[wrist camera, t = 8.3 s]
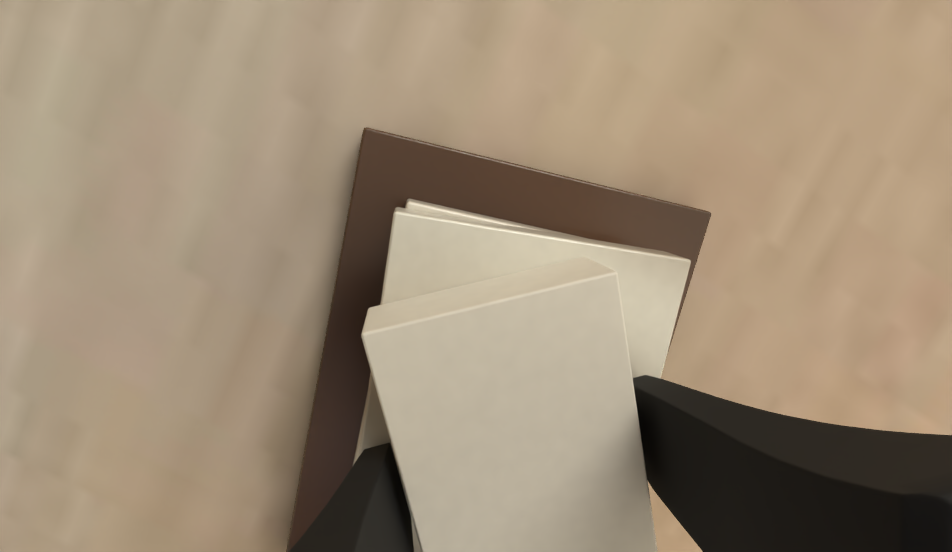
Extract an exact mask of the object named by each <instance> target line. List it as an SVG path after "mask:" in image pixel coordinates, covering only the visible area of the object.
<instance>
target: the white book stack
mask: <svg viewBox="0 0 952 552" xmlns="http://www.w3.org/2000/svg"><path fill="white" fill-rule="evenodd" d="M710 217H711V213H710V212H708V211H704V210H700V209H696V208H692V207H688V206H684V205H680V204H676V203H672V202H668V201H663V200H659V199H655V198H651V197H647V196H643V195H639V194H635V193H631V192H627V191H623V190H619V189H615V188H611V187H607V186H602V185H598V184H594V183H590V182H586V181H582V180H578V179H574V178H570V177H566V176H562V175H558V174H554V173H550V172H546V171H541V170H537V169H533V168H529V167H525V166H521V165H517V164H513V163H509V162H505V161H501V160H497V159H493V158H489V157H485V156H480V155H476V154H472V153H468V152H464V151H460V150H456V149H452V148H448V147H444V146H440V145H436V144H432V143H428V142H424V141H419V140H415V139H411V138H407V137H403V136H399V135H395V134H391V133H387V132H383V131H379V130H375V129H371V128H364V130H363V134H362V140H361V145H360V151H359V156H358V161H357V167H356V172H355V178H354V183H353V189H352V194H351V200H350V205H349V211H348V216H347V222H346V227H345V233H344V238H343V244H342V249H341V255H340V260H339V266H338V271H337V277H336V282H335V287H334V293H333V298H332V304H331V309H330V315H329V320H328V326H327V331H326V337H325V342H324V348H323V353H322V359H321V364H320V370H319V375H318V381H317V386H316V392H315V397H314V402H313V408H312V413H311V419H310V424H309V430H308V435H307V441H306V446H305V452H304V457H303V463H302V468H301V474H300V479H299V485H298V490H297V496H296V501H295V507H294V512H293V517H292V523H291V528H290V534H289V539H288V545H287V550H286V552H289V551H290V550H291V549H292V547H293V546H294V545H295V544H296V543H297V542H298V540H299V539H300V538H301V537H302V536H303V534H304V533H305V532H306V530H307V529H308V528H309V527H310V525H311V524H312V523H313V521H314V520H315V519H316V518H317V516H318V515H319V514H320V512H321V511H322V510H323V509H324V507H325V506H326V505H327V503H328V502H329V500H330V499H331V498H332V496H333V495H334V493H335V492H336V490H337V489H338V487H339V486H340V484H341V483H342V481H343V480H344V478H345V477H346V475H347V474H348V472H349V471H350V469H351V468H352V466H353V465H354V463H355V462H356V460H357V459H358V457H359V456H360V454H361V453H362V452H363V450H364V449H367V448H371V447H374V446H378V445H382V444H386V443H390V444H391V441H390V437H389V434H388V430H387V426H386V423H385V419H384V416H383V412H382V409H381V405H380V402H379V398H378V394H377V391H376V387H375V384H374V380H373V377H372V373H371V369H370V366H369V362H368V359H367V355H366V352H365V348H364V345H363V341H362V337H361V334H362V330H363V326H364V322H365V319H366V315H367V311H368V309H369V308H370V307H374V306H378V305H383V304H387V303H391V302H395V301H399V300H403V299H408V298H412V297H416V296H420V295H424V294H429V293H433V292H437V291H441V290H445V289H450V288H454V287H458V286H462V285H466V284H470V283H475V282H479V281H483V280H487V279H491V278H496V277H500V276H504V275H508V274H512V273H516V272H521V271H525V270H529V269H533V268H537V267H542V266H546V265H550V264H554V263H558V262H563V261H567V260H571V259H575V258H579V257H583V256H584V257H587V258H589V259H591V260H593V261H595V262H597V263H599V264H601V265H604V266H606V267H608V268H610V269H612V270H614V271H616V272H617V274H618V281H619V288H620V294H621V301H622V308H623V315H624V322H625V329H626V336H627V343H628V350H629V357H630V364H631V371H632V378H635V377H639V376H643V375H648V376H653V377H656V378H660V379H661V376H662V372H663V368H664V364H665V360H666V357H667V354H668V351H669V347H670V344H671V341H672V338H673V335H674V331H675V328H676V325H677V322H678V319H679V316H680V312H681V309H682V306H683V303H684V300H685V296H686V293H687V290H688V287H689V284H690V280H691V277H692V274H693V271H694V268H695V264H696V261H697V258H698V255H699V252H700V248H701V245H702V242H703V239H704V236H705V233H706V229H707V226H708V223H709V220H710ZM391 447H392V444H391ZM392 451H393V448H392ZM393 454H394V451H393ZM394 458H395V455H394ZM395 462H396V459H395ZM396 465H397V462H396ZM397 469H398V466H397ZM398 472H399V469H398ZM399 476H400V473H399ZM400 479H401V476H400ZM401 483H402V480H401ZM402 486H403V484H402ZM403 490H404V487H403ZM404 494H405V491H404ZM405 497H406V494H405ZM406 501H407V498H406ZM407 504H408V501H407ZM408 508H409V505H408ZM409 511H410V508H409ZM410 515H411V512H410ZM411 522H412V533H413V546H414V552H422V551H421V548H420V544H419V541H418V537H417V533H416V530H415V526H414V523H413V519H412V516H411Z"/></svg>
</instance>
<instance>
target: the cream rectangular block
mask: <svg viewBox="0 0 952 552" xmlns="http://www.w3.org/2000/svg"><path fill="white" fill-rule="evenodd" d="M361 337H362V341H363V345H364V348H365V352H366V355H367V359H368V362H369V366H370V369H371V373H372V377H373V380H374V384H375V387H376V391H377V394H378V398H379V402H380V405H381V409H382V412H383V416H384V419H385V423H386V426H387V430H388V434H389V437H390V441H391V444H392V448H393V451H394V455H395V459H396V462H397V466H398V469H399V473H400V476H401V480H402V484H403V487H404V491H405V494H406V498H407V501H408V505H409V508H410V512H411V516H412V519H413V523H414V526H415V530H416V533H417V537H418V541H419V544H420V548H421V551H422V552H658V551H657V544H656V537H655V530H654V523H653V516H652V509H651V502H650V495H649V488H648V481H647V475H646V468H645V461H644V454H643V447H642V440H641V433H640V426H639V419H638V412H637V405H636V398H635V391H634V385H633V378H632V371H631V364H630V357H629V350H628V343H627V336H626V329H625V322H624V315H623V308H622V301H621V294H620V288H619V281H618V274H617V272H616V271H614V270H612V269H610V268H608V267H606V266H604V265H601V264H599V263H597V262H595V261H593V260H591V259H589V258H587V257H584V256H583V257H579V258H575V259H571V260H567V261H563V262H558V263H554V264H550V265H546V266H542V267H537V268H533V269H529V270H525V271H521V272H516V273H512V274H508V275H504V276H500V277H496V278H491V279H487V280H483V281H479V282H475V283H470V284H466V285H462V286H458V287H454V288H450V289H445V290H441V291H437V292H433V293H429V294H424V295H420V296H416V297H412V298H408V299H403V300H399V301H395V302H391V303H387V304H383V305H378V306H374V307H370V308H369V309H368V311H367V315H366V319H365V322H364V326H363V330H362V334H361Z"/></svg>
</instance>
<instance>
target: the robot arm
mask: <svg viewBox="0 0 952 552" xmlns="http://www.w3.org/2000/svg"><path fill="white" fill-rule="evenodd" d="M633 385H634V391H635V398H636V405H637V412H638V419H639V426H640V433H641V440H642V447H643V454H644V461H645V468H646V475H647V480H648V482H649V483H650V485H651V486H652V488H653V489H654V491H655V492H656V493H657V495H658V496H659V497H660V499H661V500H662V501H663V502H664V504H665V505H666V506H667V507H668V509H669V510H670V511H671V512H672V514H673V515H674V516H675V517H676V519H677V520H678V521H679V522H680V524H681V525H682V526H683V527H684V529H685V530H686V531H687V532H688V533H689V535H690V536H691V537H692V538H693V540H694V541H695V542H696V543H697V545H698V546H699V547H700V548H701V550H702V551H703V552H952V435H936V434H919V433H904V432H893V431H882V430H873V429H865V428H857V427H849V426H841V425H835V424H828V423H822V422H816V421H811V420H806V419H801V418H796V417H791V416H786V415H781V414H777V413H772V412H768V411H764V410H761V409H757V408H753V407H749V406H746V405H742V404H738V403H735V402H732V401H728V400H725V399H722V398H718V397H715V396H712V395H709V394H706V393H703V392H700V391H697V390H694V389H691V388H688V387H685V386H682V385H679V384H675V383H672V382H669V381H666V380H663V379H660V378H656V377H653V376H648V375H643V376H639V377H635V378H633ZM289 552H414V546H413V533H412V522H411V515H410V511H409V508H408V504H407V501H406V497H405V494H404V490H403V486H402V483H401V479H400V476H399V472H398V469H397V465H396V462H395V458H394V454H393V451H392V447H391V444H390V443H386V444H382V445H378V446H374V447H371V448H367V449H364V450H363V452H362V453H361V454H360V456H359V457H358V459H357V460H356V462H355V463H354V465H353V466H352V468H351V469H350V471H349V472H348V474H347V475H346V477H345V478H344V480H343V481H342V483H341V484H340V486H339V487H338V489H337V490H336V492H335V493H334V495H333V496H332V498H331V499H330V500H329V502H328V503H327V505H326V506H325V507H324V509H323V510H322V511H321V512H320V514H319V515H318V516H317V518H316V519H315V520H314V521H313V523H312V524H311V525H310V527H309V528H308V529H307V530H306V532H305V533H304V534H303V536H302V537H301V538H300V539H299V540H298V542H297V543H296V544H295V545H294V546H293V547H292V549H291V550H290V551H289Z"/></svg>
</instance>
